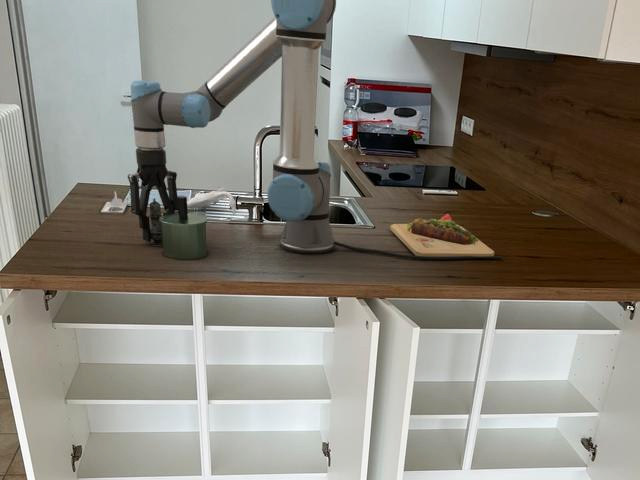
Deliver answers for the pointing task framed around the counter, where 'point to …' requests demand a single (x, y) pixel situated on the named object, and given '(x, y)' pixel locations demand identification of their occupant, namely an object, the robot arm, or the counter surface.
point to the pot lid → (182, 216)
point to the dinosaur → (211, 199)
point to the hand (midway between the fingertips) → (157, 238)
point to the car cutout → (114, 206)
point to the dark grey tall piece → (155, 224)
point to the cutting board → (439, 238)
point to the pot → (184, 241)
